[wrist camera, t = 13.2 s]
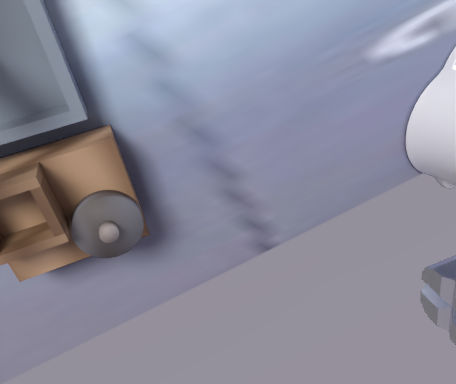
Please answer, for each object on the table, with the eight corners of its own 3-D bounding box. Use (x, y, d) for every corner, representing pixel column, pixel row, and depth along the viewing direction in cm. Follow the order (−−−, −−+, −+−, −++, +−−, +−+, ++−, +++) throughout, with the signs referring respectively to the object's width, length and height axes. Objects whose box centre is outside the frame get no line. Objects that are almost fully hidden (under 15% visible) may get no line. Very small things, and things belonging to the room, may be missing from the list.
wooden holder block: (109, 124, 36) (116, 151, 30) (143, 214, 41) (154, 252, 35) (-30, 166, 34) (-52, 204, 28) (24, 256, 39) (15, 304, 33)
